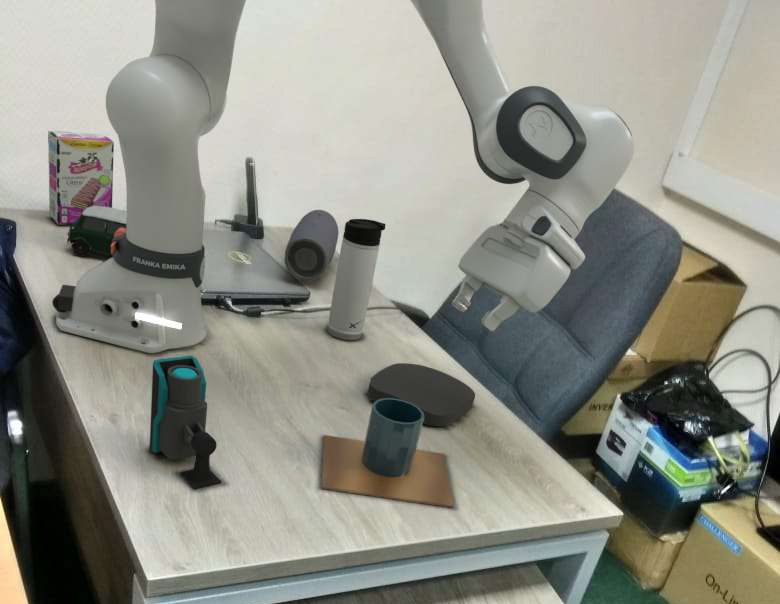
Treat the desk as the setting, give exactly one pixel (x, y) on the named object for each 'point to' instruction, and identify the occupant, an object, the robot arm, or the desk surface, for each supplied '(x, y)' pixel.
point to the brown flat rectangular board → (352, 476)
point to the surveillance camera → (182, 417)
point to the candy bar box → (78, 174)
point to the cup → (392, 437)
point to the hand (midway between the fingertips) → (471, 317)
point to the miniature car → (95, 229)
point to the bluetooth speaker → (312, 245)
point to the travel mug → (354, 278)
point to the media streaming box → (424, 391)
